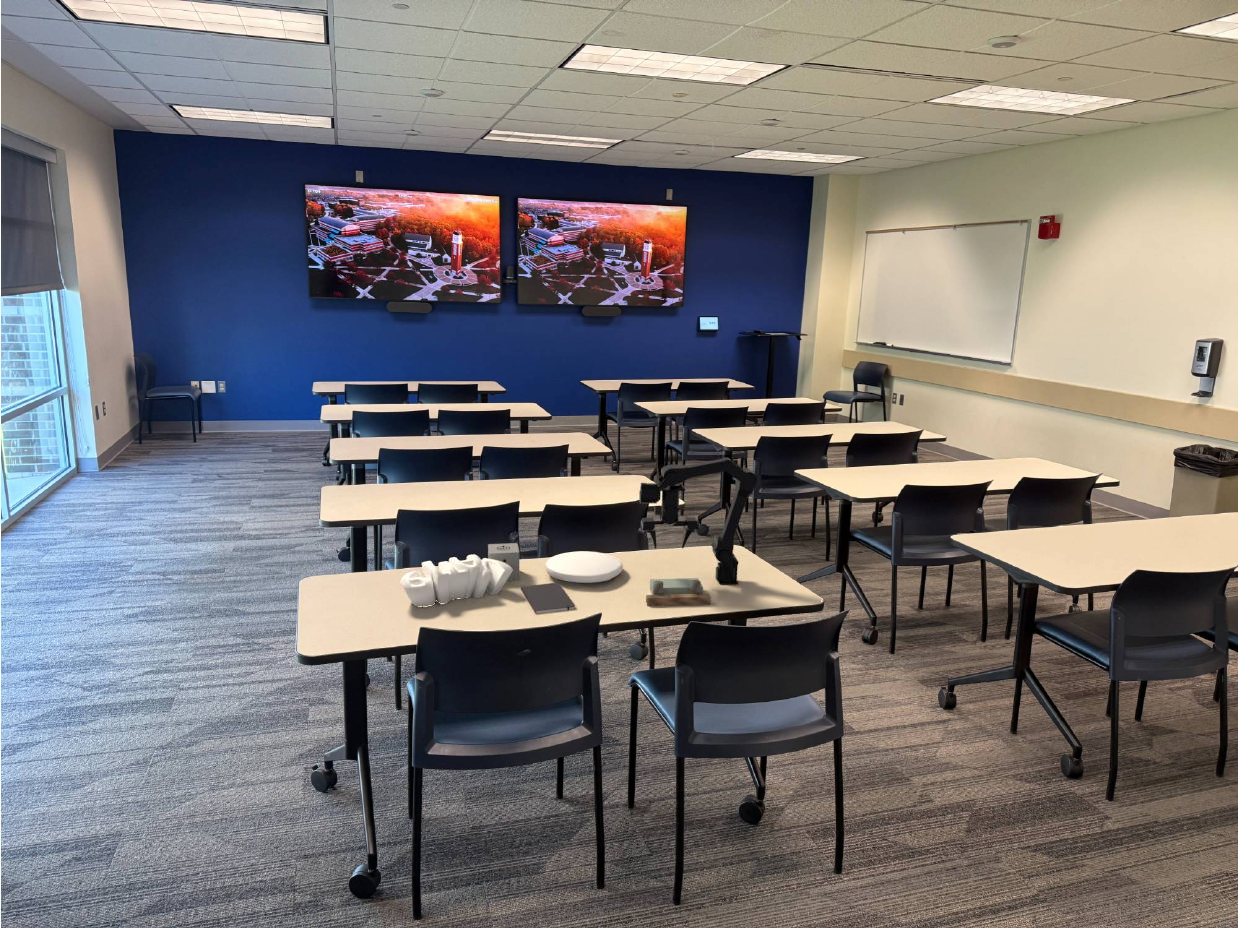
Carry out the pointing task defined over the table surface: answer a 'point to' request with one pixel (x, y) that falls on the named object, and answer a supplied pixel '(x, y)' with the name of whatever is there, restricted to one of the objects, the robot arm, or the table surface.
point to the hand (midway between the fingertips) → (668, 548)
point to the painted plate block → (675, 585)
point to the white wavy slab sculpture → (455, 580)
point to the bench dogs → (677, 596)
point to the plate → (583, 567)
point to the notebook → (547, 598)
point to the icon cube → (506, 557)
